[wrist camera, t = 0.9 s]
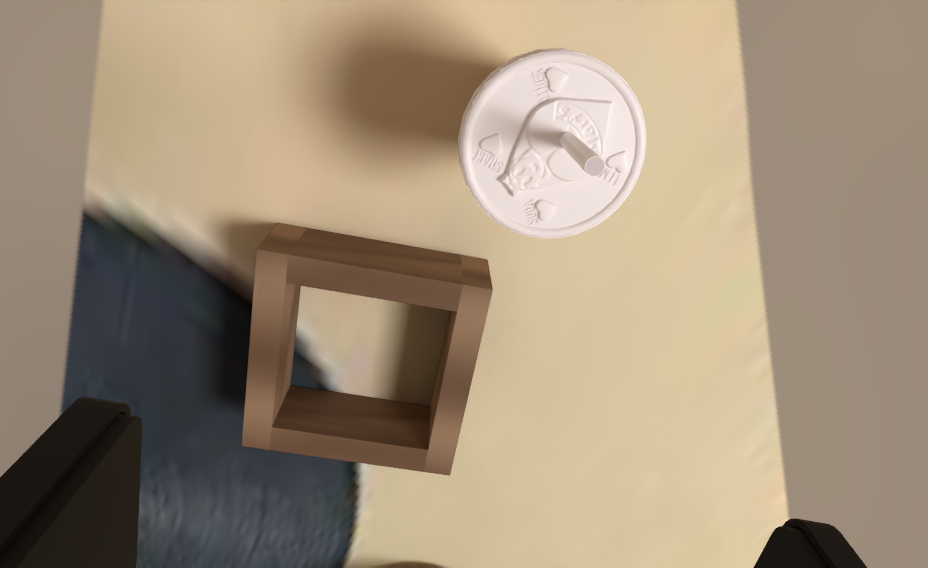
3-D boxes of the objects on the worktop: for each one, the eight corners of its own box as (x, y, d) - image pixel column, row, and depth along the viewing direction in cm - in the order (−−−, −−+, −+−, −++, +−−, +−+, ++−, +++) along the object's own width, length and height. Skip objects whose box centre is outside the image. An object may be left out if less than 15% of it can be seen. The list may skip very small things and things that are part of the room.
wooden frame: (279, 223, 32) (256, 249, 28) (487, 260, 33) (492, 289, 29) (263, 402, 36) (241, 445, 32) (449, 430, 37) (449, 475, 33)
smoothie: (615, 120, 30) (740, 192, 17) (511, 205, 32) (555, 329, 19) (534, 10, 28) (606, -3, 15) (427, 105, 30) (411, 166, 17)
